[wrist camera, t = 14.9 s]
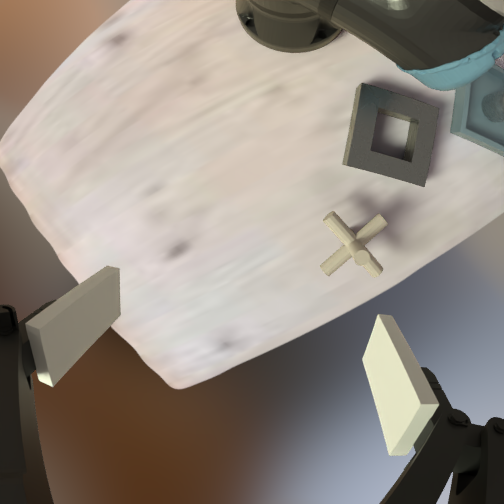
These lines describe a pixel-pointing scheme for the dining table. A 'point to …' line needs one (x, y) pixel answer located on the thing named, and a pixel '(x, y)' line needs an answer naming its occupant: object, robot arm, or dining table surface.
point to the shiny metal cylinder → (494, 107)
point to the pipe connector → (353, 244)
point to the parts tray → (479, 112)
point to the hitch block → (417, 142)
